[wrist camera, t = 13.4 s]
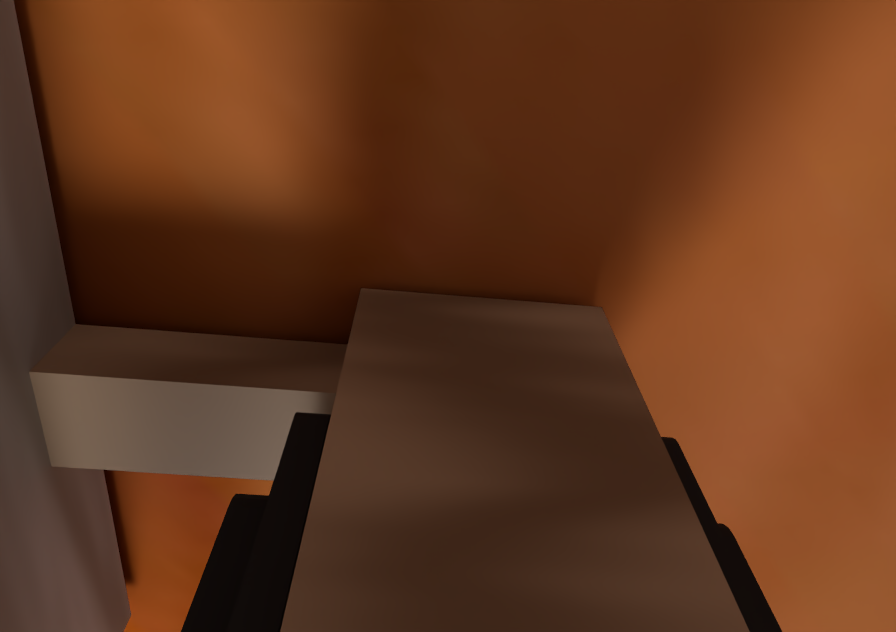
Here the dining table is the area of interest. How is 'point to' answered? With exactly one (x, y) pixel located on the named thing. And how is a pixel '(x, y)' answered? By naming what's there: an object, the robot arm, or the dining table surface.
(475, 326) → the scraper
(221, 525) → the robot arm
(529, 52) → the dining table surface
